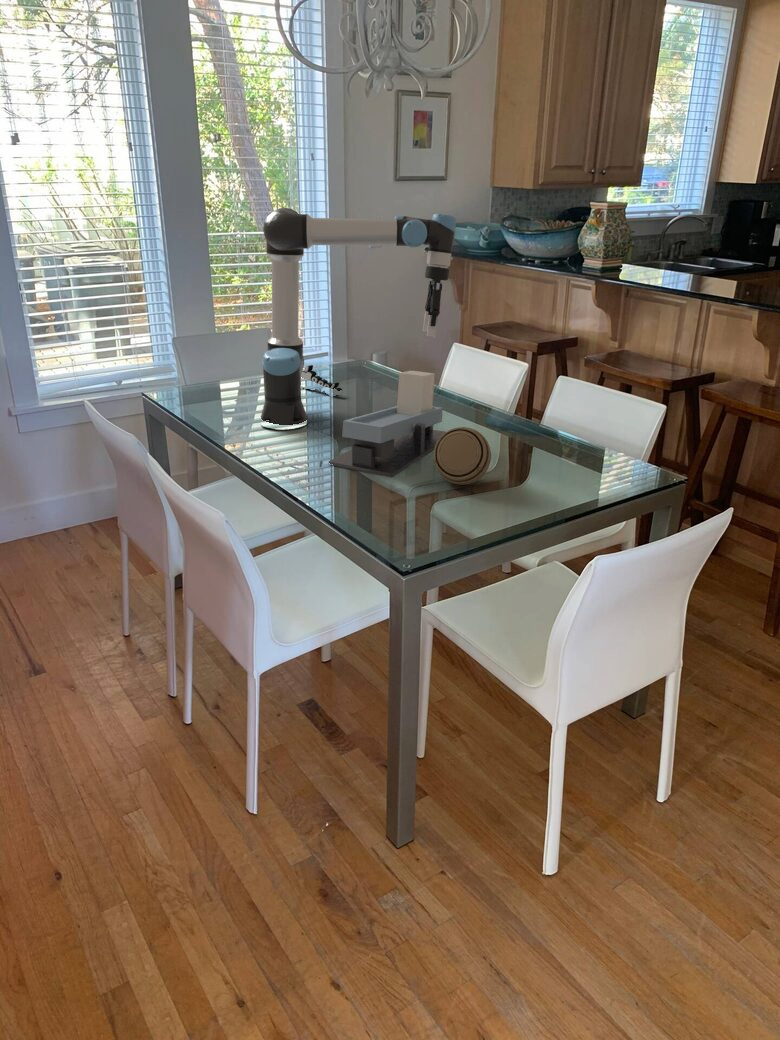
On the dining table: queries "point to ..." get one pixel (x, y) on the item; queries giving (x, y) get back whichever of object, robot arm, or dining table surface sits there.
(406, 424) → the grey tray on legs
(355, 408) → the dining table surface
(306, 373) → the logo
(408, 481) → the dining table surface
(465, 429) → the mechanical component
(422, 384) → the block
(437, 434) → the beam stand
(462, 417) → the dining table surface
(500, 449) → the dining table surface
